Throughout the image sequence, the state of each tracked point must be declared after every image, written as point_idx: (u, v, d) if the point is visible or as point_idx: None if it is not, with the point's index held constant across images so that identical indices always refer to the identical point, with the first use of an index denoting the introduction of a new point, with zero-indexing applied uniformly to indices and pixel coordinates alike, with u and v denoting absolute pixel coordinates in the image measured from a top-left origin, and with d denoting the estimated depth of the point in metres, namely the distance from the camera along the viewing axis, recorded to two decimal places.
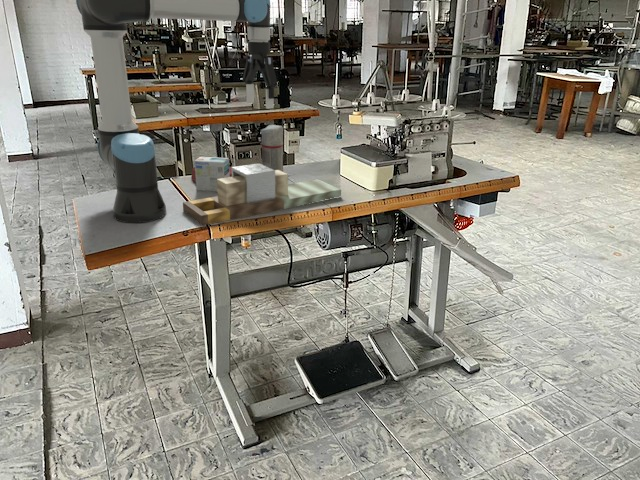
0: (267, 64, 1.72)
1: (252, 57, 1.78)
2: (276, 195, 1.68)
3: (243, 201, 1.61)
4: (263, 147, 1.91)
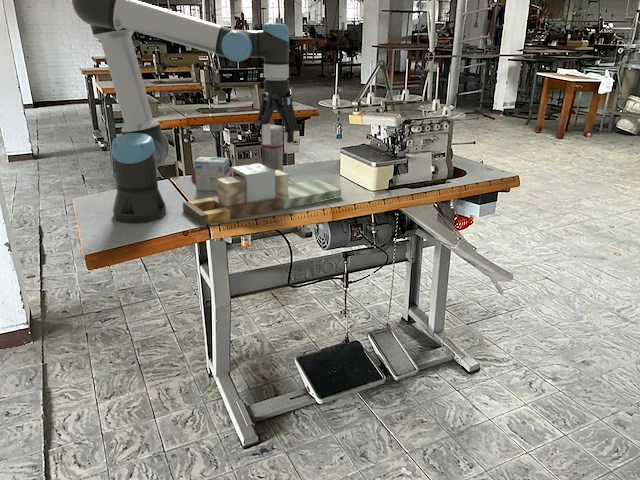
0: (286, 105, 1.54)
1: (269, 96, 1.60)
2: (276, 195, 1.68)
3: (243, 201, 1.61)
4: (263, 147, 1.91)
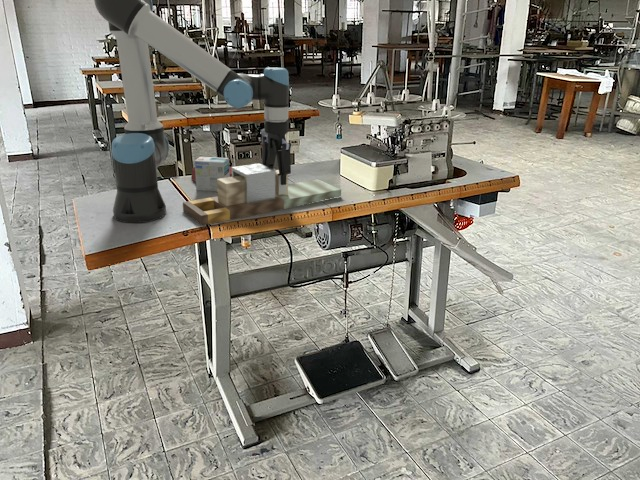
0: (284, 150, 1.60)
1: (268, 135, 1.65)
2: (276, 195, 1.68)
3: (243, 201, 1.61)
4: None
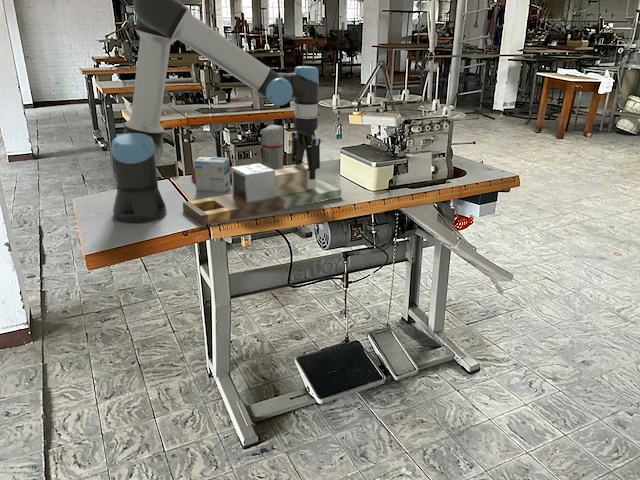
0: (314, 146, 1.66)
1: (298, 131, 1.71)
2: (305, 189, 1.74)
3: None
4: (263, 147, 1.91)
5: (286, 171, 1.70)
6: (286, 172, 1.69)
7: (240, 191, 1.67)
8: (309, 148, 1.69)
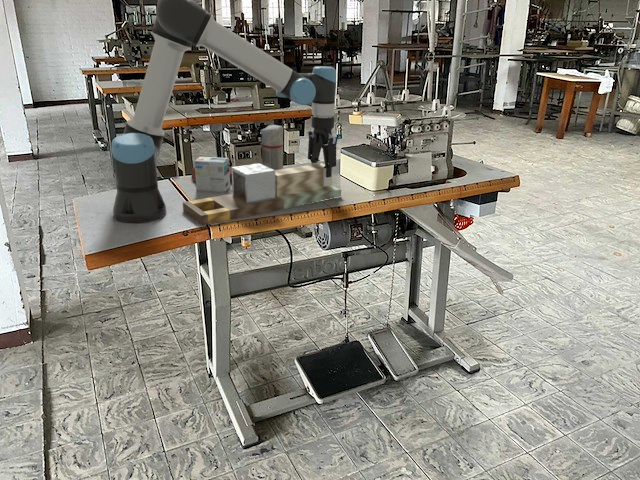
0: (331, 144, 1.70)
1: (315, 130, 1.75)
2: (321, 187, 1.77)
3: (292, 192, 1.71)
4: (263, 147, 1.91)
5: (304, 169, 1.74)
6: (304, 169, 1.73)
7: (240, 191, 1.67)
8: (326, 146, 1.73)
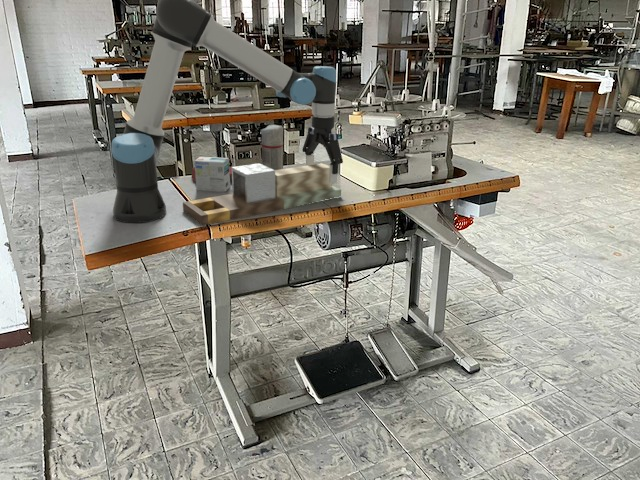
0: (332, 140, 1.69)
1: (315, 130, 1.75)
2: (321, 187, 1.77)
3: (292, 192, 1.71)
4: (263, 147, 1.91)
5: (304, 169, 1.74)
6: (304, 169, 1.73)
7: (240, 191, 1.67)
8: (328, 144, 1.72)
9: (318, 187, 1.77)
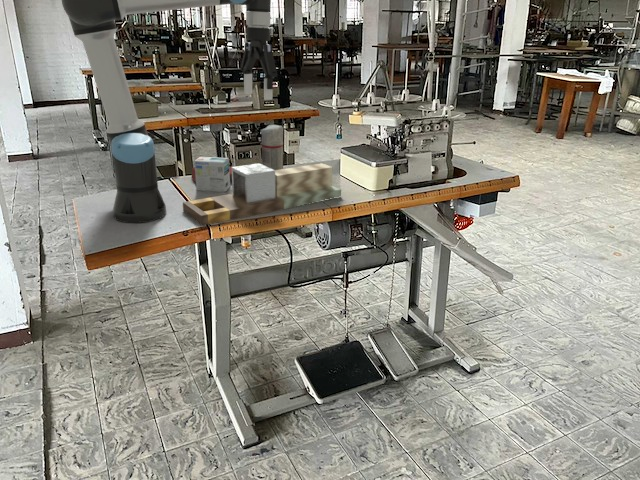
0: (266, 51, 1.59)
1: (251, 44, 1.66)
2: (321, 187, 1.77)
3: (292, 192, 1.71)
4: (263, 147, 1.91)
5: (304, 169, 1.74)
6: (304, 169, 1.73)
7: (240, 191, 1.67)
8: (263, 57, 1.62)
9: (318, 187, 1.77)
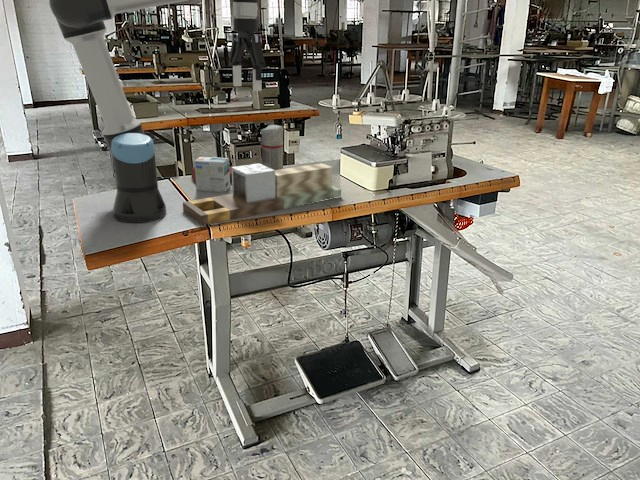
0: (254, 42, 1.59)
1: (238, 36, 1.65)
2: (321, 187, 1.77)
3: (292, 192, 1.71)
4: (263, 147, 1.91)
5: (304, 169, 1.74)
6: (304, 169, 1.73)
7: (240, 191, 1.67)
8: (251, 48, 1.62)
9: (318, 187, 1.77)
